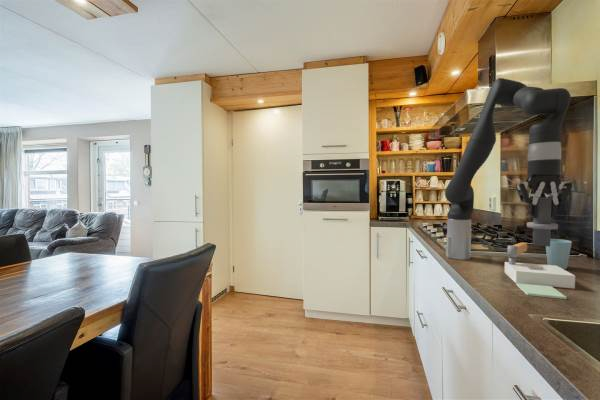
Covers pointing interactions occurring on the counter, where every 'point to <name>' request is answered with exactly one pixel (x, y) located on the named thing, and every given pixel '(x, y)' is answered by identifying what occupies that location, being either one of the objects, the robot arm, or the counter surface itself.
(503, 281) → the counter surface
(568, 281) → the socket block
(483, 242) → the counter surface
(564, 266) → the cup
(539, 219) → the plug
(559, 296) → the pad
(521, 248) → the tan piece
